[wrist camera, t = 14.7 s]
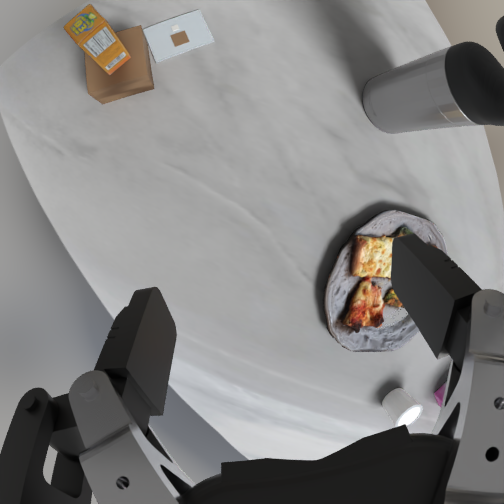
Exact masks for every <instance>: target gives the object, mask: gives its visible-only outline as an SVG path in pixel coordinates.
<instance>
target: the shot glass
mask: <svg viewBox="0 0 504 504" xmlns="http://www.w3.org/2000/svg"><path fill="white" fill-rule="evenodd" d="M382 406H383V408H384V409H385V411H386V413H387V414H388V416H389V418H390V419H391V421H392V422H393V424H394V426H395V427H398V426H401V425H404V424H406V427H408V426H410V425H411V424H412V423H414V422H415V421H416V420H417V419H418V417H419V416H420V414H421V413H422V409H423V407H422V405H421V404H420V403H419V402H417V401H416V400H415V399H414V398H413V397H411V396H410V395H409V394H408V393H407V392H406V391H404V390H403V389H402V388H397V389H394V390H392V391H391V392H389V393H388V394H387V395H386V396H385V398H384V399H383V402H382Z"/></svg>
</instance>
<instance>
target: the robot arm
mask: <svg viewBox="0 0 504 504" xmlns="http://www.w3.org/2000/svg"><path fill="white" fill-rule="evenodd" d="M496 33H497V36H498V39H499V41H500V44H501V46H502V49H503V51H504V16H503V17H501V18H500V19H499V20H498V22H497V24H496ZM363 105H364V108H365V112H366V114H367V115H368V117H369V119H370V120H371V122H372V123H373V124H374V125H375V126H376V127H377V128H379V129H380V130H382V131H384V132H386V133H391V134H394V133H402V132H411V131H420V130H428V129H438V128H449V127H461V126H473V125H496V126H504V68H503V67H502V66H501V64H500V63H499V62H498V61H497V60H496V58H495V57H494V56H493V55H492V54H491V53H490V52H489V51H488V50H487V49H486V48H484V47H483V46H481V45H479V44H478V43H474V42H463V43H460V44H457V45H454V46H451V47H448V48H445V49H443V50H440V51H437V52H434V53H432V54H430V55H427V56H424V57H422V58H419V59H417V60H414V61H412V62H409V63H407V64H404V65H402V66H399V67H397V68H395V69H392V70H390V71H388V72H385V73H383V74H381V75H379V76H376V77H374V78H372V79H371V80H369V81H368V82H367V84H366V85H365V87H364V91H363ZM391 284H392V288H393V290H394V293H395V294H396V296H397V297H398V299H399V300H400V302H401V303H402V305H403V306H404V308H405V309H406V311H407V312H408V314H409V315H410V317H411V318H412V320H413V321H414V323H415V324H416V326H417V327H418V329H419V331H420V332H421V334H422V335H423V337H424V339H425V340H426V342H427V343H428V345H429V347H430V348H431V350H432V351H433V353H434V355H435V356H436V358H437V360H438V359H440V358H443V357H445V356H447V355H450V356H451V358H452V362H451V364H450V369H449V374H448V379H447V384H446V389H445V393H444V398H443V402H442V406H441V410H440V414H439V417H438V419H437V422H436V424H435V426H434V429H433V431H432V434H426V433H413V434H409V432H408V429H407V427H406V424H404V425H401V426H398V427H395V428H392V429H389V430H386V431H383V432H380V433H377V434H374V435H371V436H368V437H364V438H362V439H360V440H358V441H356V442H354V443H353V444H351V445H349V446H347V447H345V448H343V449H341V450H339V451H337V452H335V453H333V454H331V455H329V456H327V457H324V458H322V459H320V460H313V461H311V460H286V459H271V458H264V459H256V460H247V461H236V462H224V463H221V474H218V475H215V476H213V477H210V478H207V479H205V480H203V481H202V482H200V483H198V484H195V483H194V482H193V481H192V480H191V479H190V478H189V477H188V476H187V475H186V474H185V473H184V472H183V470H182V469H181V468H180V467H179V466H178V465H177V463H176V462H175V460H174V459H173V458H172V456H171V455H170V454H169V452H168V451H167V450H166V448H165V447H164V445H163V444H162V442H161V441H160V440H159V438H158V437H157V435H156V434H155V432H154V431H153V429H152V428H151V426H150V425H149V424H148V423H149V417H150V416H157V415H158V416H160V415H163V411H164V405H165V399H166V393H167V387H168V381H169V375H170V370H171V364H172V359H173V353H174V348H175V343H176V336H177V333H176V326H175V323H174V320H173V318H172V316H171V314H170V312H169V309H168V307H167V305H166V303H165V301H164V299H163V296H162V294H161V292H160V290H159V289H158V288H157V287H151V288H146V289H141V290H136V291H135V292H134V294H133V296H132V298H131V301H130V303H129V305H128V306H127V307H124V309H123V310H122V311H121V312H120V313H119V314H118V315H117V316H116V318H115V320H114V322H113V325H112V327H111V330H110V332H109V334H108V336H107V338H108V339H107V340H106V341H105V344H104V346H103V349H102V351H101V354H100V356H99V358H98V361H97V363H96V366H95V369H94V371H89V372H86V373H85V374H82V375H81V376H80V377H78V378H77V380H75V381H74V383H73V384H72V386H71V388H70V391H69V393H68V394H64V395H61V396H58V397H54V398H52V397H51V396H50V395H49V394H48V393H47V392H46V391H45V390H44V389H42V388H34V389H32V390H29V391H28V392H27V393H26V394H25V395H24V396H23V397H22V398H21V400H20V402H19V403H18V406H17V408H16V411H15V414H14V416H13V419H12V421H11V424H10V427H9V430H8V432H7V435H6V438H5V441H4V444H3V447H2V450H1V454H0V504H91V497H92V492H93V494H94V496H95V498H96V500H97V502H98V504H504V294H503V293H502V292H499V291H497V290H492V289H485V290H482V289H481V288H480V287H479V286H478V285H477V284H476V283H475V282H474V281H473V280H472V279H471V278H470V277H469V276H468V275H467V274H466V273H465V272H464V271H463V270H462V269H461V268H460V267H458V265H457V264H456V263H455V262H454V261H453V260H452V261H451V258H450V257H449V256H447V255H446V254H445V253H444V252H443V251H442V250H440V249H438V248H436V247H434V246H432V245H430V244H429V245H427V244H426V243H425V242H424V241H423V240H422V239H420V238H419V237H418V236H417V235H416V234H409V235H405V236H400V237H396V238H394V239H393V242H392V262H391ZM49 445H50V446H51V447H52V448H54V449H55V450H56V451H58V453H57V457H56V461H55V466H54V470H53V475H52V480H51V485H50V484H48V483H47V482H46V480H45V478H44V476H43V466H44V462H45V458H46V454H47V450H48V447H49Z"/></svg>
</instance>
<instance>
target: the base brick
mask: <svg viewBox="0 0 504 504" xmlns="http://www.w3.org/2000/svg"><path fill="white" fill-rule="evenodd" d="M115 34H116V35H117V37H118V38H119V39H120V41H121V42H122V44H123V45H124V47H125V48H126V50H127V51H128V53H129V54H130V56H131V58H130V59H129V60H127V61H126V62H125V63H124V64H123V65H121V66H120V67H119V68H118V69H117V70H115V71H114V72H113V73H112V74H111V75H108V74H107V73H106V72H105V71H104V70H103V69H102V68H101V67H100V66H99V65H98V64H97V63H96V62H95V61H94V60H93V59H92V58H91V57H90V56H89V55H88V54H87V53H86V52H85V51H84V52H85V67H86V79H87V89H88V94H89V95H91V96H92V97H93V98H95V99H96V100H97V101H99V102H100V103H101V104H105V103H108V102H111V101H115V100H118V99H121V98H124V97H127V96H131V95H134V94H138V93H141V92H145V91H148V90H152V89H154V84H153V78H152V71H151V65H150V58H149V51H148V44H147V41H146V38H145V36H144V33H143V30H142V27H141V25H140V26H136V27H133V28H129V29H126V30H122V31H119V32H116V33H115Z"/></svg>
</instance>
